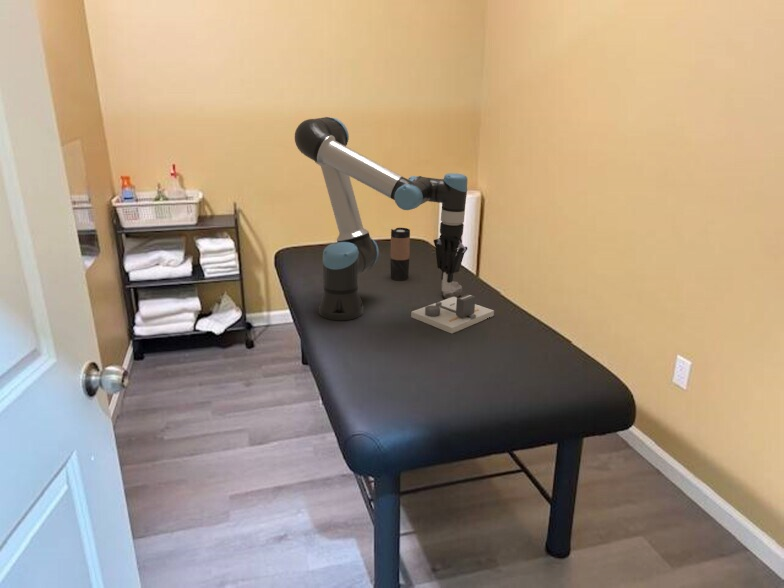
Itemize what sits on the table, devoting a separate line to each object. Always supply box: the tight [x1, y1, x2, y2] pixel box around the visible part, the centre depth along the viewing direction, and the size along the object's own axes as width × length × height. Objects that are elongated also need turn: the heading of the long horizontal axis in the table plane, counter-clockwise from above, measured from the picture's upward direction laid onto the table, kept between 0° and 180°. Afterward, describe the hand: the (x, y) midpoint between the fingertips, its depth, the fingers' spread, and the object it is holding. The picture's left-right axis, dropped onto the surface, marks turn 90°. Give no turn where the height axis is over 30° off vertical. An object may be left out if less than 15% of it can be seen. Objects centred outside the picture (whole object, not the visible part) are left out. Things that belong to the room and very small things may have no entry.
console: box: [410, 297, 495, 334], centre depth 194 cm, size 22×18×4 cm
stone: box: [440, 279, 463, 300], centre depth 213 cm, size 8×10×6 cm
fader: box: [456, 293, 476, 318], centre depth 189 cm, size 6×3×6 cm, turn 134°
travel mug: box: [389, 227, 411, 282], centre depth 229 cm, size 8×8×20 cm
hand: (446, 290), depth 194 cm, fingers closed
